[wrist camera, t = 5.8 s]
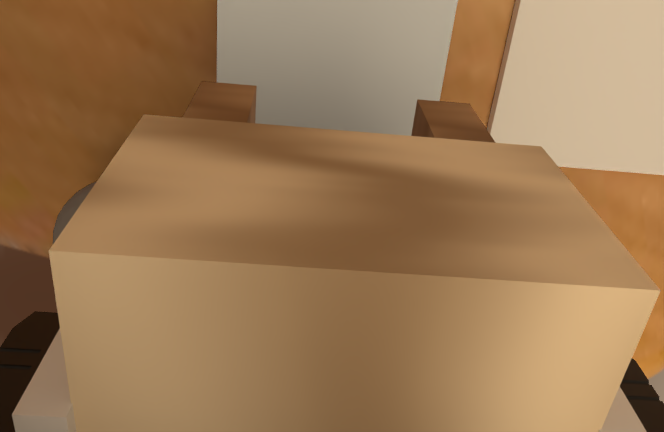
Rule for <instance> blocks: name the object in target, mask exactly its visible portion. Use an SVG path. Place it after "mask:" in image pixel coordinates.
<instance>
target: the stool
mask: <svg viewBox="0 0 664 432" xmlns="http://www.w3.org/2000/svg"><path fill="white" fill-rule="evenodd" d="M256 89H257V86H254V85H242V84H230V83H218V82H206V81H202V82H201V84H200V85H199V87H198V89H197V91H196V93H195V95H194V97H193V99H192V100H191V102H190V104H189V106H188V108H187V110H186V112H185V114H184V116H183V117H170V116H158V115H146V114H144V115H143V116H142V118H141V119H140V120H139V122H138V123H137V125H136V126H135V128H134V129H133V130H132V132H131V133H130V135H129V136H128V138H127V139H126V141H125V142H124V143H123V145H122V146H121V148H120V149H119V151H118V152H117V153H116V155H115V156H114V158H113V159H112V161H111V162H110V163H109V165H108V166H107V168H106V169H105V171H104V172H103V174H102V175H101V176H100V178H99V179H98V181H97V182H96V184H95V185H94V186H93V188H92V189H91V191H90V192H89V194H88V195H87V196H86V198H85V199H84V201H83V202H82V204H81V205H80V207H79V208H78V209H77V211H76V212H75V214H74V215H73V217H72V218H71V219H70V221H69V222H68V224H67V225H66V227H65V228H64V229H63V231H62V232H61V234H60V235H59V237H58V238H57V240H56V241H55V242H54V244H53V245H52V247H51V248H50V250H49V256H50V263H51V269H52V277H53V283H54V290H55V297H56V304H57V311H58V318H59V325H60V331H61V338H62V345H63V352H64V359H65V366H66V372H67V379H68V386H69V393H70V400H71V403H72V404H73V411H74V417H75V424H76V431H77V432H599V430H600V429H602V426H603V424H604V422H605V419H606V417H607V415H608V412H609V410H610V407H611V405H612V403H613V400H614V398H615V396H616V393H617V391H618V389H619V386H620V384H621V382H622V379H623V377H624V375H625V372H626V370H627V368H628V365H629V363H630V361H631V358H632V356H633V354H634V351H635V349H636V347H637V344H638V342H639V340H640V337H641V335H642V333H643V330H644V328H645V326H646V323H647V321H648V319H649V316H650V314H651V312H652V309H653V307H654V305H655V302H656V300H657V298H658V295H659V293H660V291H661V290H660V289H659V288H658V287H657V286H656V284H655V283H654V282H653V281H652V280H651V278H650V277H649V276H648V275H647V274H646V272H645V271H644V270H643V269H642V267H641V266H640V265H639V264H638V263H637V261H636V260H635V259H634V258H633V257H632V255H631V254H630V253H629V252H628V251H627V249H626V248H625V247H624V246H623V244H622V243H621V242H620V241H619V240H618V238H617V237H616V236H615V235H614V234H613V232H612V231H611V230H610V229H609V228H608V226H607V225H606V224H605V223H604V222H603V220H602V219H601V218H600V217H599V215H598V214H597V213H596V212H595V211H594V209H593V208H592V207H591V206H590V205H589V203H588V202H587V201H586V200H585V199H584V197H583V196H582V195H581V194H580V192H579V191H578V190H577V189H576V188H575V186H574V185H573V184H572V183H571V182H570V180H569V179H568V178H567V177H566V176H565V174H564V173H563V172H562V171H561V170H560V168H559V167H558V166H557V165H556V163H555V162H554V161H553V160H552V159H551V157H550V156H549V155H548V154H547V153H546V151H545V150H544V149H543V148H542V147H541V146H530V145H518V144H506V143H496V142H495V141H494V139H493V138H492V136H491V135H490V134H489V132H488V131H487V129H486V128H485V126H484V125H483V123H482V122H481V120H480V119H479V117H478V116H477V114H476V113H475V111H474V110H473V108H472V107H471V105H470V104H466V103H454V102H442V101H431V100H419V99H417V104H416V110H415V116H414V122H413V128H412V134H411V136H406V135H394V134H381V133H369V132H357V131H344V130H332V129H319V128H307V127H295V126H282V125H270V124H257V123H255V115H256Z"/></svg>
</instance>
